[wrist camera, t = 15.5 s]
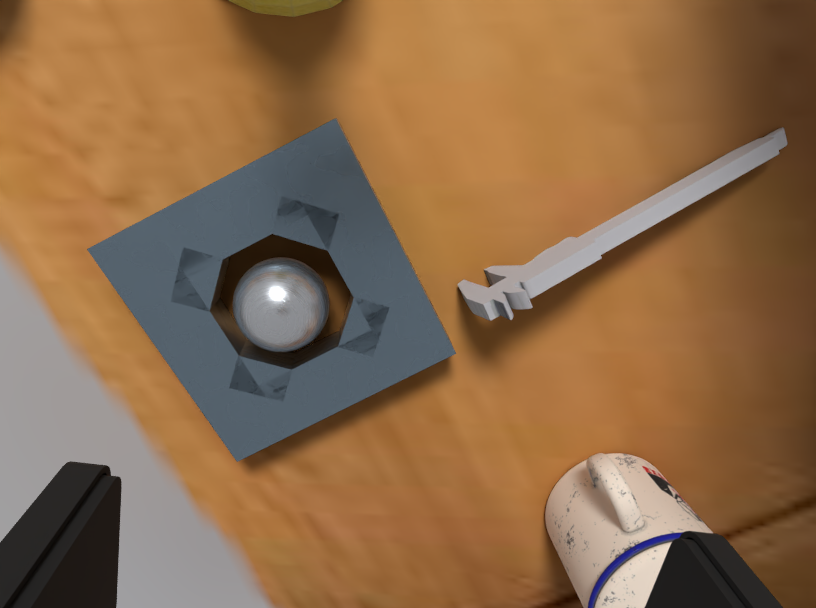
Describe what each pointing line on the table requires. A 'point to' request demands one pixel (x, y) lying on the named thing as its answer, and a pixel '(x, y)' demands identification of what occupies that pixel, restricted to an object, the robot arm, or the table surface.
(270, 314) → the steel ball
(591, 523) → the teacup with lid
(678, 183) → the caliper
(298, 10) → the handbell
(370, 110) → the table surface
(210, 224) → the housing plate
